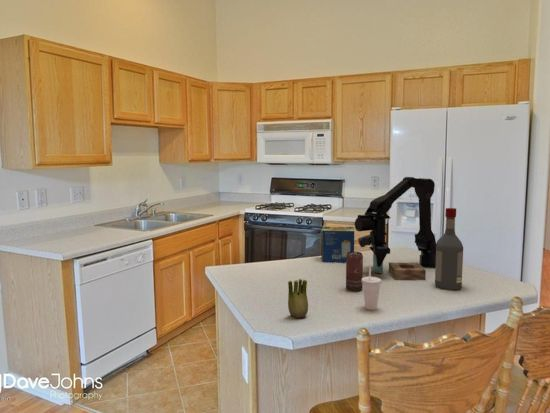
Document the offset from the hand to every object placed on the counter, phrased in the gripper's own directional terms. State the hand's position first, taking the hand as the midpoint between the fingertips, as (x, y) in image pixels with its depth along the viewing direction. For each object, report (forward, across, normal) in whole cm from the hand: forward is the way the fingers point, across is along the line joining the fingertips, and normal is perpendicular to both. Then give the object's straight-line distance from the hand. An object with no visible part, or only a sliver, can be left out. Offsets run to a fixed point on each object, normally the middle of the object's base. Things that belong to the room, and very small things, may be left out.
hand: (377, 265), depth 175 cm
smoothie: (+3, +41, -10) cm, 42 cm away
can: (+3, +22, -13) cm, 26 cm away
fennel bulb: (+3, +49, -34) cm, 60 cm away
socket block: (+3, +4, +11) cm, 12 cm away
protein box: (+4, -22, -15) cm, 27 cm away
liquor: (+4, +18, +23) cm, 29 cm away
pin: (+3, 0, 0) cm, 3 cm away
